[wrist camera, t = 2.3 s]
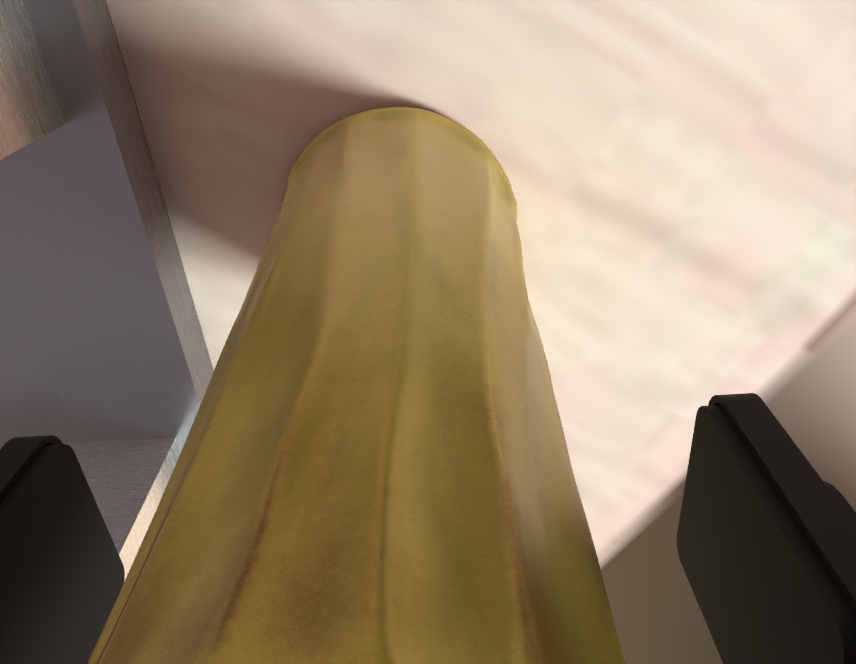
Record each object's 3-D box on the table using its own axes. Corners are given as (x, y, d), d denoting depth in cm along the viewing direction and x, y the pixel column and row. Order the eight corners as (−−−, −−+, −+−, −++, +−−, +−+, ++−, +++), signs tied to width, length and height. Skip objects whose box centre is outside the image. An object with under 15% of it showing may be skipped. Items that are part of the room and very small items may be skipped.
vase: (437, 355, 20) (463, 1046, 8) (245, 259, 18) (-120, 949, 6) (561, 185, 17) (912, 832, 5) (349, 54, 15) (71, 538, 3)
